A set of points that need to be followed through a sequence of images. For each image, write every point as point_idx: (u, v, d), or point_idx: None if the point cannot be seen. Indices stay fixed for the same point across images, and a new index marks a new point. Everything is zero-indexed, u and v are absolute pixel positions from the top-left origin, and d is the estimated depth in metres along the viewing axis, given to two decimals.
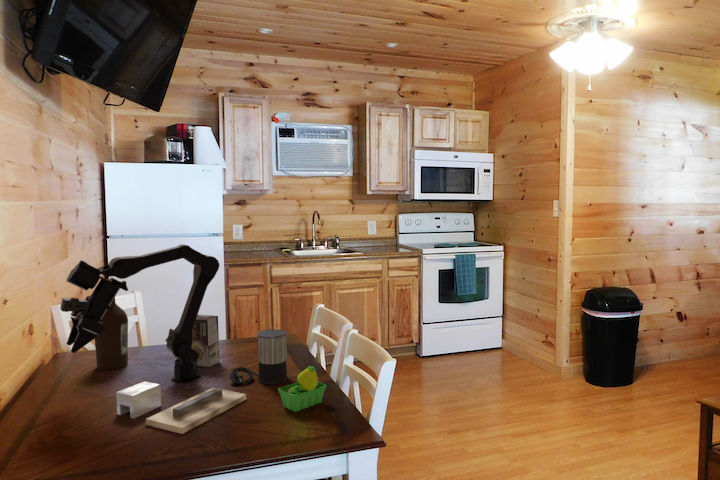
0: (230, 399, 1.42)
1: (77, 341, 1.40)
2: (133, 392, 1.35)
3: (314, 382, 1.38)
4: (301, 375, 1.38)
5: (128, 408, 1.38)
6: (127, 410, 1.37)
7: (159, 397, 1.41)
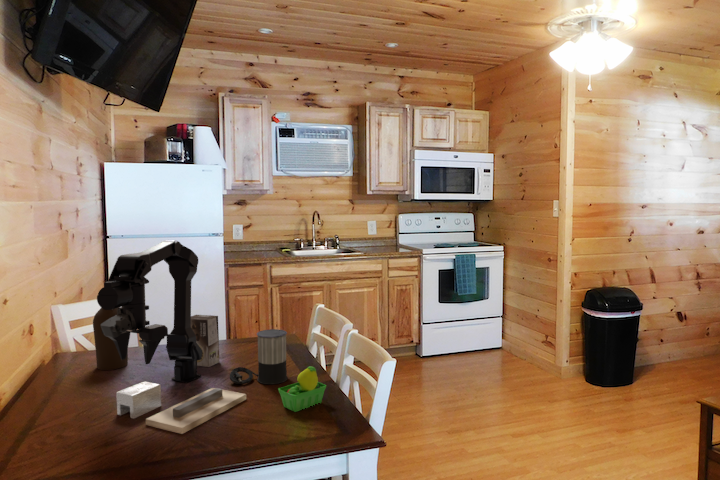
0: (230, 399, 1.42)
1: (147, 353, 1.35)
2: (133, 392, 1.35)
3: (314, 382, 1.38)
4: (301, 375, 1.38)
5: (128, 408, 1.38)
6: (127, 410, 1.37)
7: (159, 397, 1.41)
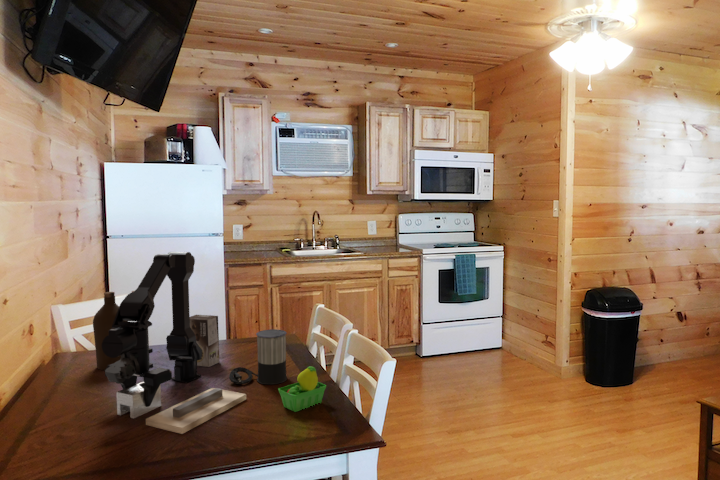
0: (230, 399, 1.42)
1: (148, 396, 1.36)
2: (133, 392, 1.35)
3: (314, 382, 1.38)
4: (301, 375, 1.38)
5: (128, 408, 1.38)
6: (127, 410, 1.37)
7: (159, 397, 1.41)
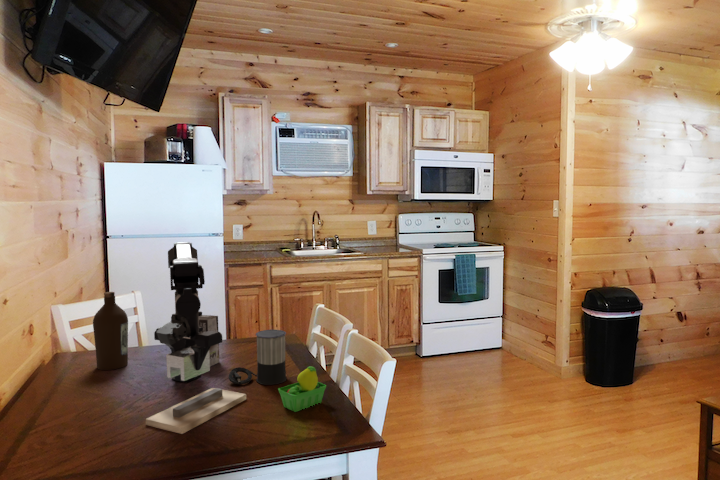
0: (230, 399, 1.42)
1: (198, 359, 1.34)
2: (183, 354, 1.33)
3: (314, 382, 1.38)
4: (301, 375, 1.38)
5: (177, 371, 1.36)
6: (177, 373, 1.35)
7: (208, 361, 1.39)
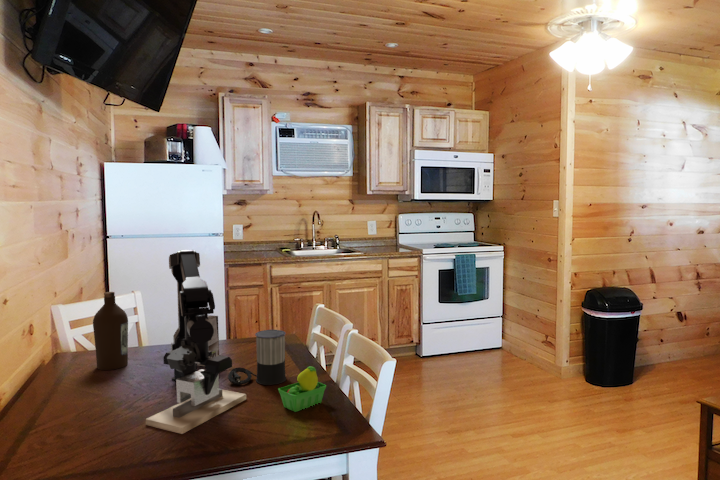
0: (230, 399, 1.42)
1: (208, 384, 1.35)
2: (193, 379, 1.34)
3: (314, 382, 1.38)
4: (301, 375, 1.38)
5: (187, 396, 1.36)
6: (186, 398, 1.36)
7: (217, 385, 1.39)
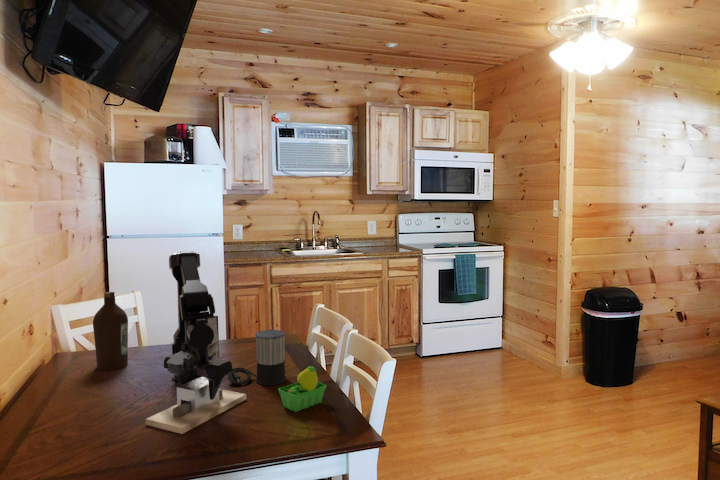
0: (230, 399, 1.42)
1: (213, 389, 1.34)
2: (193, 387, 1.34)
3: (314, 382, 1.38)
4: (301, 375, 1.38)
5: None
6: None
7: (217, 392, 1.40)
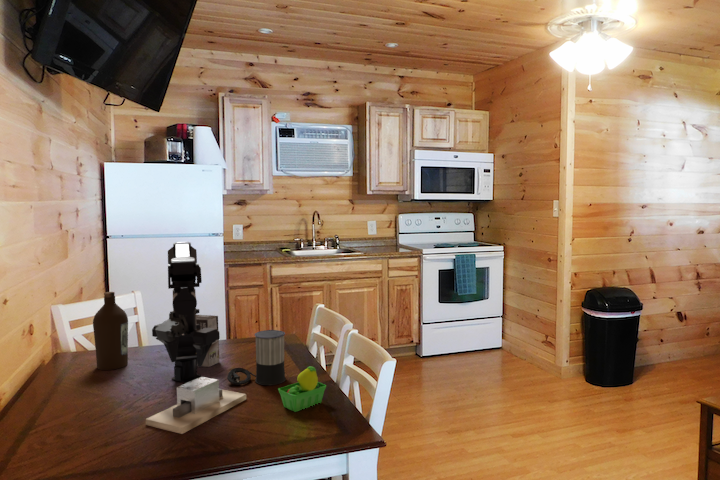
0: (230, 399, 1.42)
1: (200, 356, 1.37)
2: (193, 387, 1.34)
3: (314, 382, 1.38)
4: (301, 375, 1.38)
5: None
6: None
7: (217, 392, 1.40)
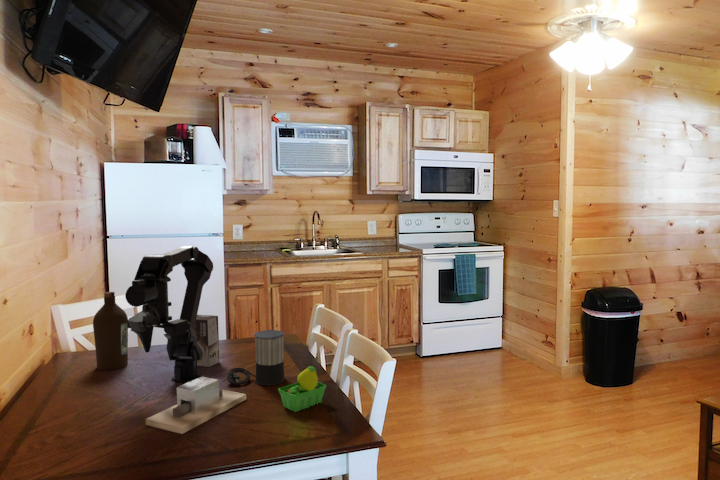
0: (230, 399, 1.42)
1: (171, 346, 1.45)
2: (193, 387, 1.34)
3: (314, 382, 1.38)
4: (301, 375, 1.38)
5: None
6: None
7: (217, 392, 1.40)
